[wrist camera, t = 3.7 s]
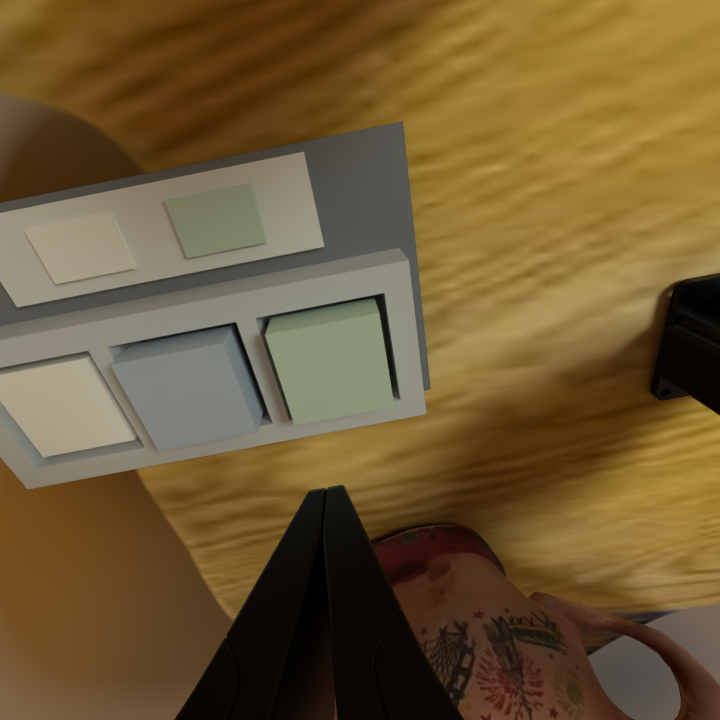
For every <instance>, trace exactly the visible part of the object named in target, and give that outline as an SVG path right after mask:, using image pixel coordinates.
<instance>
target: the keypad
mask: <svg viewBox="0 0 720 720" xmlns="http://www.w3.org/2000/svg"><path fill="white" fill-rule="evenodd" d="M370 298H375V301H376V304H377V307H378V310H379V314H380V320H381V326H382V332H383V339H384V345H385V351H386V357H387V363H388V369H389V375H390V382H391V388H392V394H393V400H394V406H395V407H391V408H386V409H381V410H375V411H370V412H365V413H360V414H354V415H349V416H344V417H338V418H333V419H328V420H323V421H317V422H312V423H307V424H301V425H296V426H295V425H294V422H293V419H292V416H291V413H290V410H289V407H288V404H287V401H286V398H285V395H284V392H283V388H282V385H281V382H280V379H279V376H278V373H277V370H276V367H275V364H274V361H273V358H272V355H271V352H270V349H269V346H268V343H267V340H266V337H265V334H266V331H267V328H268V325H269V322H270V319H271V318H272V317H277V316H283V315H288V314H293V313H298V312H303V311H308V310H313V309H318V308H324V307H329V306H334V305H339V304H344V303H349V302H354V301H360V300H365V299H370ZM231 325H233V328H234V330H235V333H236V336H237V338H238V341H239V344H240V347H241V349H242V352H243V355H244V357H245V360H246V363H247V366H248V368H249V371H250V374H251V377H252V379H253V382H254V385H255V387H256V390H257V393H258V396H259V398H260V401H261V404H262V406H263V413H262V417H261V421H260V425H259V429H258V433H254V434H249V435H243V436H238V437H233V438H228V439H222V440H217V441H212V442H206V443H201V444H196V445H191V446H185V447H180V448H175V449H170V450H164V451H158V449H157V447H156V446H155V444H154V442H153V440H152V439H151V437H150V435H149V433H148V431H147V430H146V428H145V426H144V424H143V423H142V421H141V419H140V417H139V416H138V414H137V412H136V410H135V409H134V407H133V405H132V403H131V402H130V400H129V398H128V396H127V395H126V393H125V391H124V389H123V388H122V386H121V384H120V382H119V380H118V379H117V377H116V375H115V373H114V372H113V370H112V368H111V366H110V365H111V364H112V363H113V362H114V361H115V360H116V359H117V358H118V357H119V356H120V355H121V354H122V353H123V352H124V351H125V350H126V349H127V348H128V347H129V346H130V345H134V344H139V343H144V342H149V341H154V340H159V339H164V338H170V337H175V336H180V335H185V334H190V333H195V332H200V331H205V330H211V329H216V328H221V327H226V326H231ZM84 351H89V353H90V355H91V356H92V358H93V360H94V361H95V363H96V365H97V367H98V368H99V370H100V372H101V373H102V375H103V377H104V378H105V380H106V382H107V384H108V385H109V387H110V389H111V390H112V392H113V394H114V395H115V397H116V399H117V401H118V402H119V404H120V406H121V407H122V409H123V411H124V412H125V414H126V416H127V418H128V419H129V421H130V423H131V424H132V426H133V428H134V429H135V431H136V433H137V435H138V436H137V437H136V439H135V440H132V441H127V442H122V443H116V444H111V445H106V446H101V447H95V448H90V449H85V450H79V451H74V452H69V453H64V454H58V455H53V456H48V457H43V456H42V455H41V454H40V453H39V451H38V450H37V449H36V447H35V446H34V445H33V443H32V442H31V441H30V440H29V438H28V437H27V436H26V434H25V433H24V432H23V430H22V429H21V428H20V427H19V425H18V424H17V423H16V421H15V420H14V419H13V417H12V416H11V415H10V414H9V412H8V411H7V410H6V408H5V407H4V406H3V404H2V403H1V402H0V457H1V458H2V459H3V461H4V462H5V463H6V464H7V466H8V467H9V468H10V469H11V470H12V471H13V473H14V474H15V475H16V476H17V477H18V479H19V480H20V481H21V482H22V483H23V484H24V486H25V487H26V488H27V489H32V488H37V487H43V486H48V485H54V484H59V483H64V482H70V481H75V480H80V479H85V478H91V477H96V476H101V475H107V474H112V473H117V472H122V471H127V470H133V469H139V468H144V467H149V466H154V465H160V464H165V463H170V462H176V461H181V460H186V459H192V458H197V457H202V456H207V455H213V454H218V453H223V452H229V451H234V450H239V449H244V448H250V447H255V446H260V445H266V444H271V443H276V442H282V441H287V440H292V439H297V438H303V437H308V436H313V435H319V434H324V433H329V432H334V431H340V430H345V429H350V428H356V427H361V426H366V425H372V424H377V423H382V422H387V421H393V420H398V419H403V418H409V417H414V416H419V415H424V414H426V406H425V397H424V390H429V389H431V388H430V379H429V369H428V360H427V350H426V340H425V331H424V321H423V311H422V302H421V292H420V283H419V273H418V263H417V254H416V244H415V234H414V225H413V215H412V206H411V196H410V186H409V177H408V167H407V157H406V148H405V138H404V129H403V122H398V123H393V124H388V125H383V126H378V127H373V128H368V129H363V130H358V131H353V132H349V133H344V134H339V135H334V136H329V137H324V138H319V139H314V140H309V141H304V142H299V143H294V144H289V145H284V146H279V147H275V148H270V149H265V150H260V151H255V152H250V153H245V154H240V155H235V156H230V157H225V158H220V159H215V160H210V161H205V162H200V163H196V164H191V165H186V166H181V167H176V168H171V169H166V170H161V171H156V172H151V173H146V174H141V175H136V176H131V177H126V178H122V179H117V180H112V181H107V182H102V183H97V184H92V185H87V186H82V187H78V188H73V189H67V190H62V191H57V192H53V193H48V194H43V195H38V196H33V197H28V198H23V199H18V200H13V201H8V202H3V203H0V368H2V367H7V366H12V365H17V364H22V363H28V362H33V361H38V360H43V359H48V358H53V357H58V356H64V355H69V354H74V353H79V352H84Z"/></svg>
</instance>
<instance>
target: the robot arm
mask: <svg viewBox="0 0 720 720" xmlns="http://www.w3.org/2000/svg"><path fill="white" fill-rule="evenodd" d="M688 289H689V291H688V292H687V293H686V291H687V290H688ZM685 293H686V294H685ZM650 393H651V394H652V396H654V397H655V398H657V399H658V400H668V399H673V398H679V397H684V396H691V397H693V398H694V399H696V400H697V401H699V402H700V403H702V404H703V405H705V406H706V407H708V408H709V409H711V410H712V411H714V412H715V413H717V414H718V415H720V273H717V274H712V275H707V276H702V277H696V278H691V279H686V280H683V281H681V282H680V283H679V284H677V286H676V287H675V288H674V291H673V294H672V298H671V303H670V307H669V311H668V316H667V320H666V324H665V329H664V333H663V338H662V342H661V346H660V351H659V355H658V359H657V364H656V368H655V372H654V377H653V381H652V386H651V390H650ZM335 696H336V708H337V720H465V719H464V718H463V716H462V715H461V713H460V711H459V710H458V708H457V707H456V705H455V703H454V702H453V700H452V699H451V697H450V696H449V694H448V692H447V691H446V689H445V688H444V686H443V684H442V683H441V681H440V679H439V678H438V676H437V674H436V672H435V671H434V669H433V667H432V666H431V664H430V662H429V661H428V659H427V657H426V655H425V654H424V652H423V650H422V648H421V646H420V644H419V642H418V640H417V638H416V636H415V634H414V632H413V630H412V628H411V626H410V624H409V622H408V620H407V617H406V615H405V613H404V611H403V610H402V608H401V605H400V603H399V601H398V599H397V597H396V595H395V592H394V590H393V588H392V586H391V584H390V582H389V580H388V578H387V575H386V573H385V571H384V569H383V567H382V565H381V563H380V561H379V558H378V556H377V554H376V552H375V550H374V548H373V546H372V544H371V541H370V539H369V537H368V535H367V533H366V531H365V529H364V527H363V525H362V522H361V520H360V518H359V516H358V514H357V512H356V510H355V508H354V505H353V503H352V501H351V499H350V497H349V495H348V493H347V491H346V488H345V487H344V486H343V485H338V486H332V487H328V488H327V489H325V488H321V489H315V490H310V491H309V492H308V493H307V495H306V497H305V498H304V500H303V502H302V504H301V505H300V507H299V509H298V511H297V512H296V514H295V516H294V518H293V519H292V521H291V523H290V525H289V526H288V528H287V530H286V532H285V533H284V535H283V537H282V539H281V540H280V542H279V544H278V546H277V547H276V549H275V551H274V553H273V554H272V556H271V558H270V560H269V561H268V563H267V565H266V566H265V568H264V570H263V572H262V573H261V575H260V577H259V579H258V580H257V582H256V584H255V586H254V587H253V589H252V591H251V593H250V594H249V596H248V598H247V600H246V601H245V603H244V605H243V607H242V608H241V610H240V612H239V614H238V615H237V617H236V619H235V621H234V622H233V624H232V626H231V628H230V629H229V631H228V633H227V638H225V639H224V640H223V641H222V643H221V645H220V647H219V648H218V650H217V652H216V654H215V655H214V657H213V659H212V660H211V662H210V664H209V666H208V667H207V669H206V670H205V672H204V674H203V676H202V677H201V679H200V680H199V682H198V684H197V685H196V687H195V689H194V690H193V692H192V693H191V695H190V696H189V698H188V699H187V701H186V703H185V704H184V706H183V707H182V709H181V710H180V712H179V713H178V715H177V716H176V718H175V719H174V720H334V716H335Z"/></svg>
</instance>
